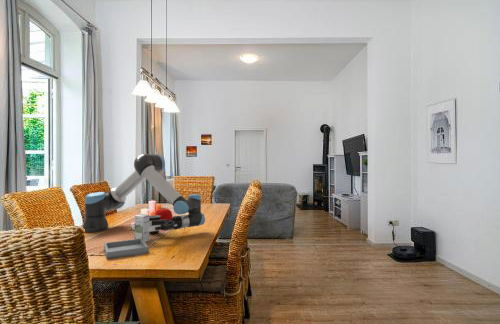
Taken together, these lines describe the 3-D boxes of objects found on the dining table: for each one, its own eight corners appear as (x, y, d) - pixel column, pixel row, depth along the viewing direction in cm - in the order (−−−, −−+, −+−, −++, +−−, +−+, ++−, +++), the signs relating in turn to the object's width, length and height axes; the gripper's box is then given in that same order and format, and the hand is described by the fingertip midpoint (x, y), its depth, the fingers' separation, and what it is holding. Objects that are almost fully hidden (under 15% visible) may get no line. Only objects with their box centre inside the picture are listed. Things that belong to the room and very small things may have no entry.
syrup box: (149, 240, 168) (149, 214, 168) (142, 243, 162) (142, 216, 162) (141, 239, 170) (141, 213, 169) (134, 242, 164) (134, 215, 164)
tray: (103, 248, 151) (103, 242, 151) (141, 243, 160) (141, 238, 160) (106, 259, 136) (106, 252, 136) (148, 252, 145) (148, 246, 145)
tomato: (156, 224, 209) (156, 206, 208) (173, 224, 210) (173, 206, 210) (152, 228, 196) (152, 209, 196) (170, 228, 198) (170, 208, 197)
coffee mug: (162, 231, 188) (162, 215, 188) (157, 234, 180) (157, 218, 179) (144, 231, 189) (144, 215, 189) (138, 234, 181) (138, 217, 181)
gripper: (189, 232, 169) (152, 238, 156) (171, 224, 189) (136, 229, 176) (189, 218, 169) (152, 223, 156) (171, 212, 189) (136, 216, 176)
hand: (144, 226), depth 166 cm, fingers open, 13 cm apart
